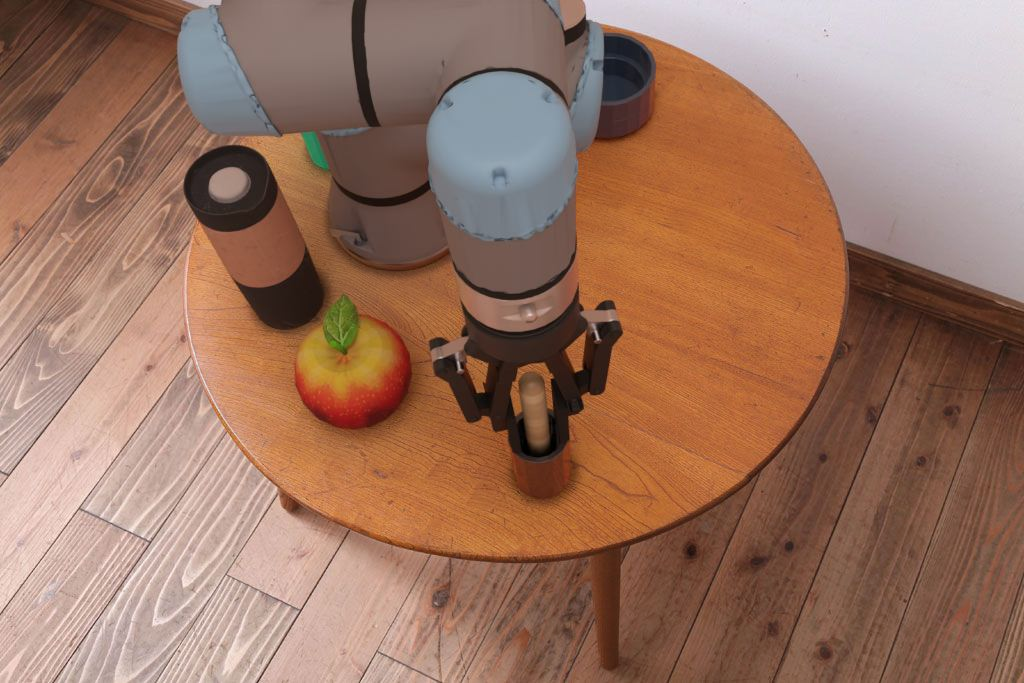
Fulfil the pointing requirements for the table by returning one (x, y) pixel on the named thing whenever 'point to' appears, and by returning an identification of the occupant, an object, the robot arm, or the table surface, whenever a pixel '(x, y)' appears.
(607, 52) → the bowl
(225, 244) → the travel mug
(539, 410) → the stick
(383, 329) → the fruit
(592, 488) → the table surface
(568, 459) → the holder
